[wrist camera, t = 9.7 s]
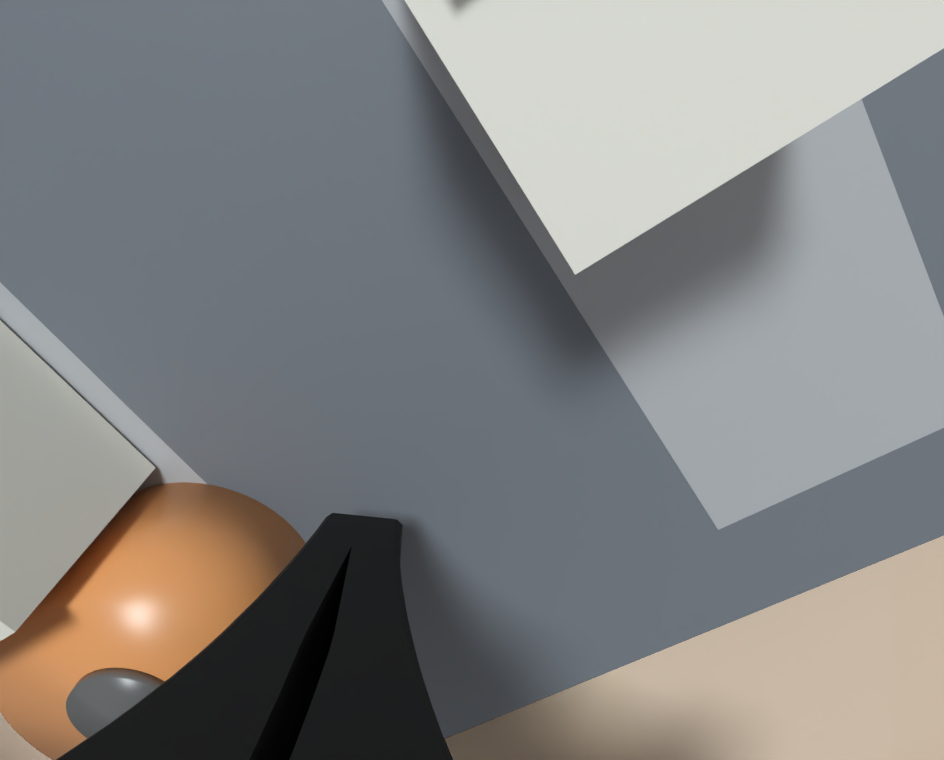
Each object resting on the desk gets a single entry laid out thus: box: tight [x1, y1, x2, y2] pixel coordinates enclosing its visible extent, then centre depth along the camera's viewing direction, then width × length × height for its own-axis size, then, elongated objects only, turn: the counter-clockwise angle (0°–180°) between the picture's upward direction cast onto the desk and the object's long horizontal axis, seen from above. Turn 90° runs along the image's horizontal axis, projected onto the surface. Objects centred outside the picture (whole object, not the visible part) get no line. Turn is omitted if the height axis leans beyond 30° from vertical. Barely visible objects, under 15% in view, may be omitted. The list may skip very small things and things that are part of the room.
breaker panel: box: [0, 0, 944, 739], centre depth 12 cm, size 18×24×2 cm
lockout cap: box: [0, 482, 306, 760], centre depth 12 cm, size 5×5×3 cm
